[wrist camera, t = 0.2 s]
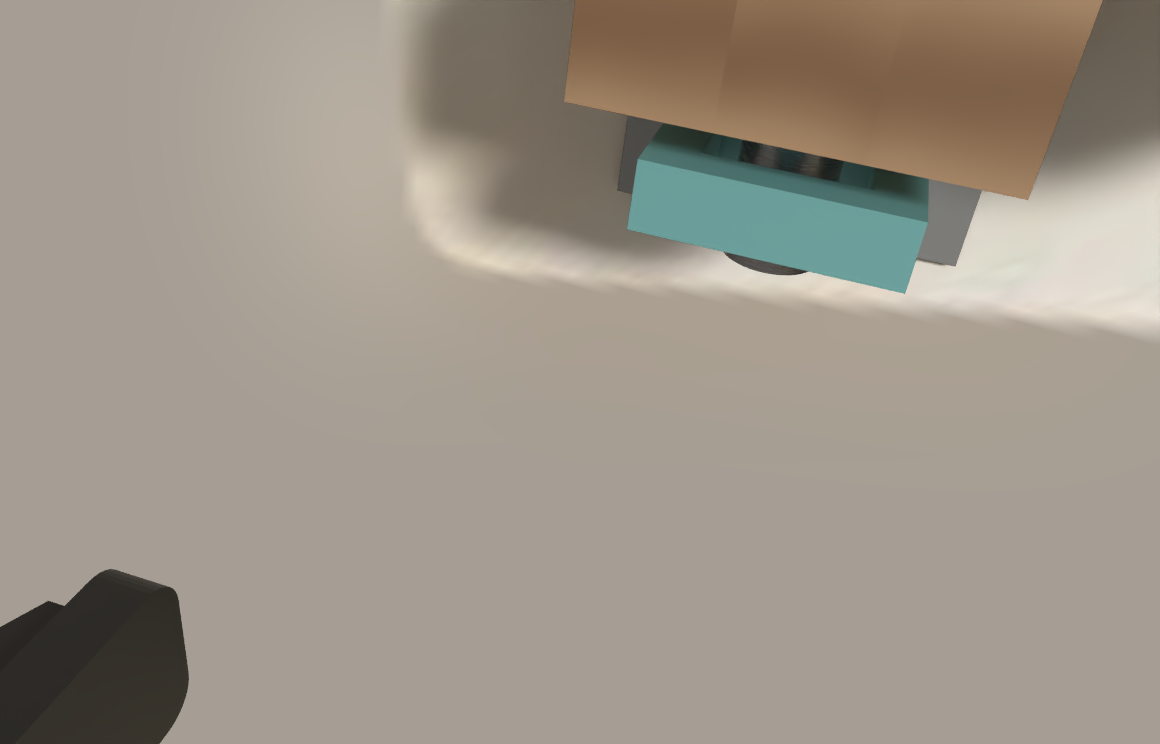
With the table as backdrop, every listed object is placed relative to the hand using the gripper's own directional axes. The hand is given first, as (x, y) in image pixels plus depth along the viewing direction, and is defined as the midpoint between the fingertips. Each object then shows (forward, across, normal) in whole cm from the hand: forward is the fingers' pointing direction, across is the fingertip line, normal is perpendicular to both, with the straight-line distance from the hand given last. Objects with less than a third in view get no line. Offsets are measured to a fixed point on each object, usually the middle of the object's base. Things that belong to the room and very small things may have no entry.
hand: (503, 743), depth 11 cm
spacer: (+26, -1, +2) cm, 26 cm away
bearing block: (+28, -1, -3) cm, 28 cm away
